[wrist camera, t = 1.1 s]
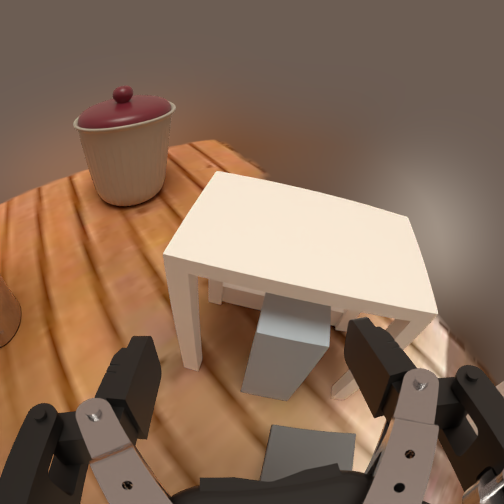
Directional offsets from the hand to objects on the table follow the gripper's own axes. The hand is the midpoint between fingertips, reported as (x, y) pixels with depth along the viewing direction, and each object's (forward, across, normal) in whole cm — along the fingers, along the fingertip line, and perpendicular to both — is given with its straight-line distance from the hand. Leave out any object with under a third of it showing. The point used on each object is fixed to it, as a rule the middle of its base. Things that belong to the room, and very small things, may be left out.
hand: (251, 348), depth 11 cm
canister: (+45, +20, -2) cm, 49 cm away
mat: (+3, -5, +20) cm, 21 cm away
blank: (+14, -2, +15) cm, 20 cm away
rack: (+17, -3, +14) cm, 22 cm away
